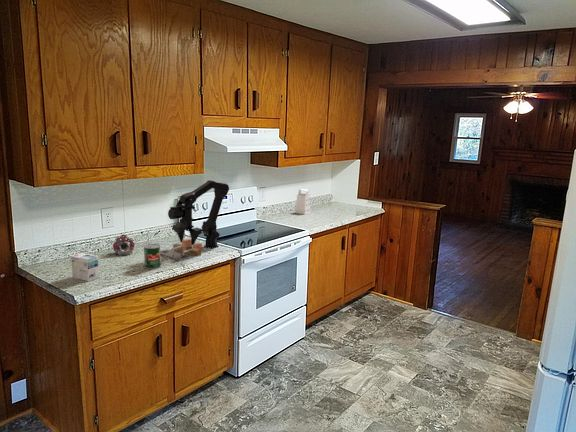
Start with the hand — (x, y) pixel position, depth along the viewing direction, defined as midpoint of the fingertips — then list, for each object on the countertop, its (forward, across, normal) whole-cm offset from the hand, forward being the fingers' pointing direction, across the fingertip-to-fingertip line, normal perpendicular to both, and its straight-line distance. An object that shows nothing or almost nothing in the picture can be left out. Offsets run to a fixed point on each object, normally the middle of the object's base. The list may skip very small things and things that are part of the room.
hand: (187, 243), depth 250 cm
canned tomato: (+5, +6, -29) cm, 30 cm away
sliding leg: (+4, 0, -4) cm, 6 cm away
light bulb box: (+5, -4, -59) cm, 59 cm away
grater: (+6, -16, +144) cm, 145 cm away
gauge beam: (+5, 0, -4) cm, 6 cm away
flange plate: (+5, 0, -10) cm, 11 cm away
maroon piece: (+5, -24, -25) cm, 35 cm away
